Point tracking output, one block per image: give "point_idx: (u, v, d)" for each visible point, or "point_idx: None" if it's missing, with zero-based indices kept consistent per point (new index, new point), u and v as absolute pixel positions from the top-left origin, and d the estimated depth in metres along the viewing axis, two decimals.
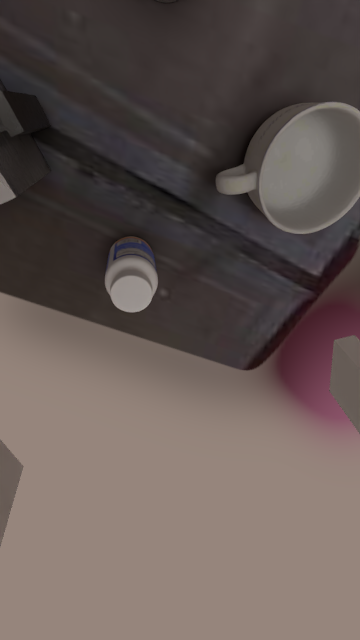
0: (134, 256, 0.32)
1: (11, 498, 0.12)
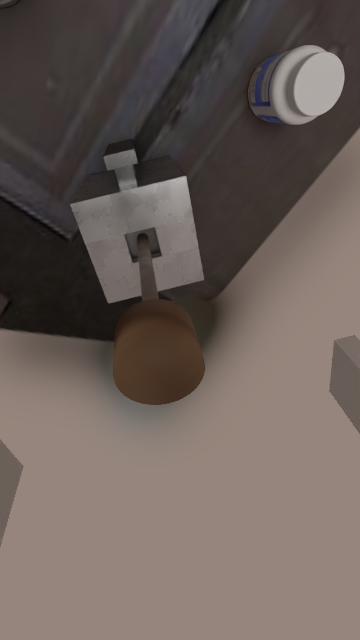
0: (274, 73, 0.26)
1: (11, 498, 0.12)
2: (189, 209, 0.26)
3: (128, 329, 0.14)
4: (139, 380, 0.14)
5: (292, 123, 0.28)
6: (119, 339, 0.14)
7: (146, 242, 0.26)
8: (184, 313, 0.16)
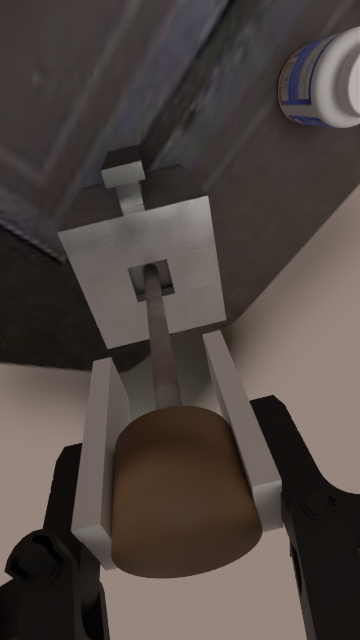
0: (319, 63, 0.20)
1: (127, 423, 0.14)
2: (211, 237, 0.20)
3: (136, 473, 0.09)
4: (154, 557, 0.09)
5: (338, 126, 0.22)
6: (121, 487, 0.09)
7: (155, 279, 0.21)
8: (222, 427, 0.10)
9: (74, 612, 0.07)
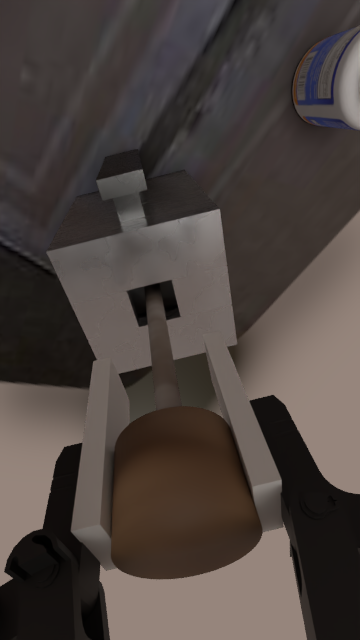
0: (344, 57, 0.18)
1: (127, 423, 0.14)
2: (222, 255, 0.18)
3: (135, 474, 0.09)
4: (154, 557, 0.09)
5: None
6: (121, 488, 0.09)
7: None
8: (222, 427, 0.10)
9: (74, 612, 0.07)
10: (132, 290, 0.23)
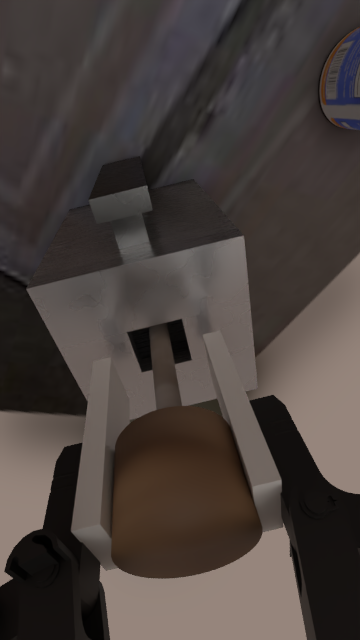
0: None
1: (127, 423, 0.14)
2: (244, 289, 0.14)
3: (135, 473, 0.09)
4: (154, 557, 0.09)
5: None
6: (121, 487, 0.09)
7: None
8: (222, 427, 0.10)
9: (74, 612, 0.07)
10: None
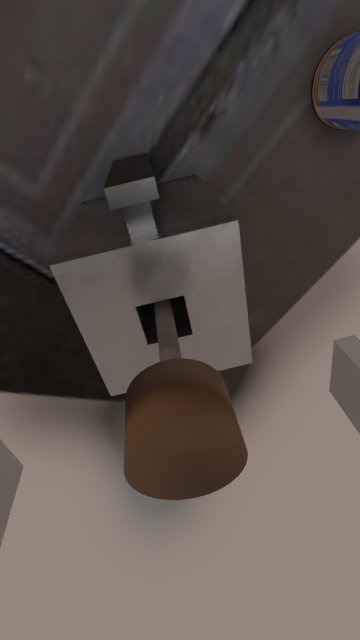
0: None
1: (11, 499, 0.12)
2: (239, 269, 0.16)
3: (144, 406, 0.10)
4: (159, 475, 0.10)
5: None
6: (132, 419, 0.11)
7: None
8: (217, 377, 0.12)
9: None
10: None
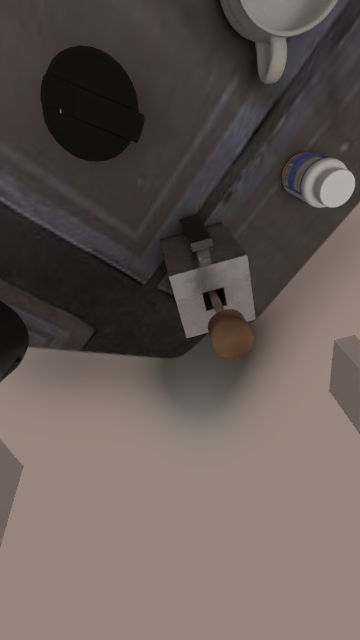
0: (305, 177, 0.37)
1: (11, 499, 0.12)
2: (248, 274, 0.37)
3: (219, 323, 0.31)
4: (224, 346, 0.31)
5: None
6: (215, 328, 0.32)
7: None
8: (242, 315, 0.33)
9: None
10: None
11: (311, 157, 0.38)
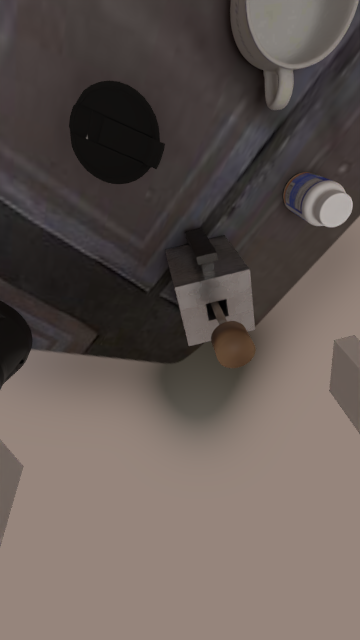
0: (305, 197, 0.39)
1: (11, 499, 0.12)
2: (249, 288, 0.39)
3: (222, 334, 0.33)
4: (227, 356, 0.33)
5: (316, 225, 0.41)
6: (218, 339, 0.33)
7: None
8: (244, 327, 0.35)
9: None
10: None
11: (312, 178, 0.41)
